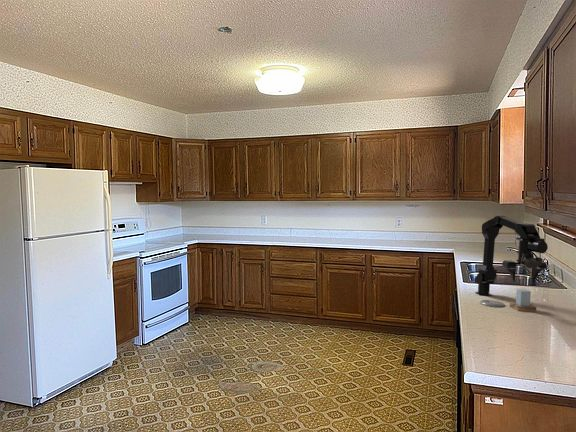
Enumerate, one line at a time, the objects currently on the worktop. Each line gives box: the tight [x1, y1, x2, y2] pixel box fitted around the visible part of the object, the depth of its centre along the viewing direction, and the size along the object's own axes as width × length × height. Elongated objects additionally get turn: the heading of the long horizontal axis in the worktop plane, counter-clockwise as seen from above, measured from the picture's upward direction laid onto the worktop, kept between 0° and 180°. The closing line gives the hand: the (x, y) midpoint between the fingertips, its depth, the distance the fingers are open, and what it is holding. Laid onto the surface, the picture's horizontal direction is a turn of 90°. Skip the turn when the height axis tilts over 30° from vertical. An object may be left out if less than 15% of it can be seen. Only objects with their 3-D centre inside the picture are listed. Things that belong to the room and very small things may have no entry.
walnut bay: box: [509, 301, 537, 312], centre depth 216 cm, size 8×8×2 cm
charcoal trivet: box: [479, 299, 505, 308], centre depth 223 cm, size 11×11×1 cm
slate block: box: [515, 288, 532, 306], centre depth 216 cm, size 4×4×9 cm
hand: (523, 282), depth 215 cm, fingers open, 9 cm apart
